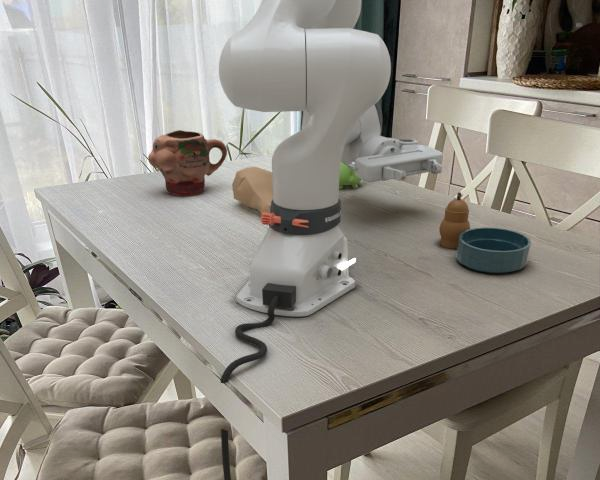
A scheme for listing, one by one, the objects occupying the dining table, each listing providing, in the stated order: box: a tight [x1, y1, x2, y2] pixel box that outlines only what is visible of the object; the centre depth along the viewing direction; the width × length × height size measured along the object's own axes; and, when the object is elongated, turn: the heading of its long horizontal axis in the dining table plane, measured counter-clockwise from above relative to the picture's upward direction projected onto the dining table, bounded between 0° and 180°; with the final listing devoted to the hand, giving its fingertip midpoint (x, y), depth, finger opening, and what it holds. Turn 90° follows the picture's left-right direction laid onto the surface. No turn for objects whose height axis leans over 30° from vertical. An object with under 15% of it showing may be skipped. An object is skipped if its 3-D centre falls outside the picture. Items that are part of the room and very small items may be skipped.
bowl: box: [455, 226, 532, 274], centre depth 115 cm, size 13×13×4 cm
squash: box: [231, 166, 273, 216], centre depth 142 cm, size 11×20×9 cm, turn 25°
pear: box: [439, 191, 471, 250], centre depth 121 cm, size 6×6×10 cm
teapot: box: [339, 162, 363, 190], centre depth 159 cm, size 11×12×8 cm
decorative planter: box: [147, 129, 228, 197], centre depth 155 cm, size 20×12×14 cm, turn 115°
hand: (421, 173), depth 127 cm, fingers open, 8 cm apart
